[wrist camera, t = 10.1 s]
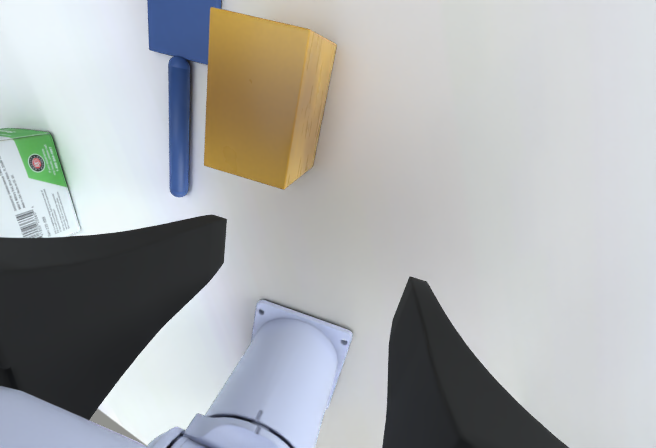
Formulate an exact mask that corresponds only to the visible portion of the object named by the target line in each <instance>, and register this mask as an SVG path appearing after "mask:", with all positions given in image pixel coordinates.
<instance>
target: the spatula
mask: <svg viewBox="0 0 656 448" xmlns="http://www.w3.org/2000/svg"><path fill="white" fill-rule="evenodd" d="M147 1H148V30H149V50H151V51H155V52H159V53H163V54H167V55H171V56H174V57H172V58H171V59H170V60H169V64H168V77H169V170H170V192H171V193H172V194H173V195H174V196H176V197H183V196H185V195H186V194H187V192H188V172H189V114H190V65H189V63H188V61H187V60H191V61H195V62H198V63H202V64H206V65H208V50H209V25H210V8H211V7H214V8H219V9H221V0H147ZM186 59H187V60H186Z"/></svg>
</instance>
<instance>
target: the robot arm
mask: <svg viewBox="0 0 656 448" xmlns="http://www.w3.org/2000/svg"><path fill="white" fill-rule="evenodd" d="M226 223H227V219H225V218H222V217H218V216H215V215H206V216H200V217H195V218H190V219H185V220H180V221H176V222H171V223H167V224H162V225H157V226H152V227H146V228H141V229H135V230H130V231H123V232H116V233H108V234H99V235H88V236H70V237H50V238H9V237H0V448H315V446H316V442H317V438H318V435H319V431H320V427H321V424H322V420H323V416H324V413H325V409H328V407H329V404H330V401H331V398H332V395H333V393H334V390H335V387H336V384H337V381H338V378H339V375H340V372H341V369H342V366H343V363H344V360H345V358H346V355H347V352H348V349H349V346H350V343H351V340H352V336H353V334H352V332H351V331H350V330H348V329H345V328H342V327H339V326H336V325H334V324H331V323H328V322H325V321H322V320H319V319H317V318H314V317H311V316H308V315H305V314H302V313H300V312H297V311H294V310H291V309H288V308H285V307H283V306H280V305H277V304H274V303H271V302H269V301H266V300H260V301H258V303H257V305H256V311H255V318H254V325H253V332H252V339H251V344H250V345H249V347H248V348H247V350H246V351H245V353H244V355H243V356H242V358H241V359H240V361H239V362H238V364H237V366H236V367H235V369H234V370H233V372H232V373H231V375H230V377H229V378H228V380H227V381H226V383H225V385H224V386H223V388H222V389H221V391H220V392H219V394H218V396H217V397H216V399H215V400H214V402H213V403H212V405H211V407H210V408H209V410H208V411H207V413H206V414H205V416H204V415H201V414H199V413H198V414H196V415H195V417H194V418H193V420H192V421H191V423H190V424H189V426H188V427H187V429H186V430H183V429H181V428H179V427H174V428H172V429H170V430H169V431H167V432H166V433H164V434H161V435H159V436H158V437H156V438H155V439H154V440H153V441H151V442H150V443H149V444H148V445H147V446H145V445H143V444H141V443H140V442H138V441H135V440H133V439H131V438H128V437H126V436H124V435H121V434H119V433H117V432H114V431H112V430H110V429H108V428H105V427H103V426H101V425H99V424H96V423H94V422H92V421H89V420H90V418H91V417H92V415H93V414H94V413H95V411H96V410H97V408H98V407H99V406H100V404H101V403H102V402H103V400H104V399H105V398H106V396H107V395H108V394H109V392H110V391H111V390H112V388H113V387H114V386H115V384H116V383H117V382H118V380H119V379H120V378H121V376H122V375H123V374H124V373H125V371H126V370H127V369H128V368H129V366H130V365H131V364H132V363H133V361H134V360H135V359H136V358H137V356H138V355H139V354H140V353H141V351H142V350H143V349H144V348H145V347H146V346H147V344H148V343H149V342H150V341H151V340H152V339H153V337H154V336H155V335H156V334H157V333H158V331H159V330H160V329H161V328H162V327H163V326H164V325H165V324H166V323H167V322H168V321H169V320H170V319H171V318H172V317H173V316H174V315H175V314H176V313H178V312H179V311H180V310H181V309H182V308H183V307H184V306H185V305H186V304H187V303H188V302H189V301H190V300H191V299H192V298H193V297H194V296H195V295H196V294H197V293H198V292H199V291H200V290H201V289H202V288H203V287H204V286H205V285H206V284H207V283H208V282H209V281H210V280H211V279H212V278H213V276H214V275H215V274H216V273H217V271H218V270H219V269H220V267H221V266H222V264H223V263H224V251H225V237H226ZM261 310H263V311H264V312H263V311H261ZM342 339H344V340H346V341H344V340H342ZM382 448H569V447H567V446H566V445H565V444H564V443H562V442H561V441H560V440H559V439H558V438H556V437H555V436H554V435H553V434H552V433H551V432H550V431H548V430H547V429H546V428H545V427H544V426H543V425H542V424H541V423H540V422H538V421H537V420H536V419H535V418H534V417H533V416H532V415H531V414H530V413H528V412H527V411H526V410H525V409H524V408H523V407H522V406H521V405H520V404H519V403H518V402H517V401H516V400H515V399H514V398H513V397H512V396H511V395H510V394H509V393H508V392H507V391H506V390H505V389H504V388H503V387H502V386H501V385H500V384H499V383H498V382H497V380H496V379H495V378H494V377H493V376H492V375H491V374H490V373H489V372H488V371H487V369H486V368H485V367H484V366H483V365H482V363H481V362H480V361H479V360H478V359H477V357H476V356H475V355H474V354H473V353H472V351H471V350H470V349H469V347H468V346H467V345H466V343H465V342H464V341H463V339H462V338H461V336H460V335H459V334H458V332H457V331H456V329H455V328H454V326H453V325H452V323H451V322H450V320H449V319H448V317H447V315H446V314H445V312H444V310H443V309H442V307H441V305H440V304H439V302H438V300H437V299H436V297H435V295H434V293H433V292H432V290H431V288H430V286H429V285H428V283H427V282H426V281H423V280H420V279H417V278H413V277H409V280H408V282H407V285H406V287H405V290H404V292H403V295H402V297H401V300H400V303H399V305H398V308H397V310H396V313H395V315H394V318H393V322H392V328H391V334H390V341H389V357H388V393H387V414H386V423H385V431H384V439H383V447H382Z"/></svg>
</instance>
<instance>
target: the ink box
mask: <svg viewBox="0 0 656 448" xmlns="http://www.w3.org/2000/svg"><path fill="white" fill-rule="evenodd" d="M78 231H80V226H79V223H78V220H77V216H76V213H75V210H74V207H73V204H72V200H71V197H70V194H69V191H68V187H67V184H66V181H65V178H64V175H63V172H62V168H61V165H60V162H59V159H58V155H57V152H56V149H55V145H54V142H53V139H52V136H51V134H50V133H49V132H43V131H35V130H27V129H13V128H4V129H0V237H9V238H50V237H67V236H69V235H71V234H73V233H76V232H78Z"/></svg>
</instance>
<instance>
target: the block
mask: <svg viewBox="0 0 656 448" xmlns="http://www.w3.org/2000/svg"><path fill="white" fill-rule="evenodd" d="M336 47H337V44H335V43H333V42H332V41H330V40H328V39H326V38H324V37H322V36H321V35H319V34H317V33H315V32H313V31H312V30H310V29H307V28H302V27H298V26H293V25H289V24H285V23H280V22H276V21H271V20H267V19H263V18H258V17H254V16H249V15H245V14H241V13H236V12H232V11H227V10H223V9H219V8H214V7H211V8H210V25H209V50H208V76H207V101H206V127H205V152H204V165H205V166H207V167H211V168H214V169H217V170H221V171H224V172H227V173H231V174H234V175H237V176H241V177H244V178H247V179H251V180H254V181H257V182H261V183H264V184H267V185H270V186H274V187H277V188H280V189H285V188H287V187H288V186H289V185H290V184H292V183H293V182H294V181H295V180H297V179H298V178H299V177H301V176H302V175H303V174H304V173H306V172H307V171H308V170H309V169H311V168H312V167H313V163H314V158H315V153H316V148H317V143H318V138H319V133H320V128H321V123H322V118H323V113H324V108H325V103H326V97H327V92H328V87H329V82H330V77H331V72H332V67H333V62H334V57H335V52H336Z"/></svg>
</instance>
